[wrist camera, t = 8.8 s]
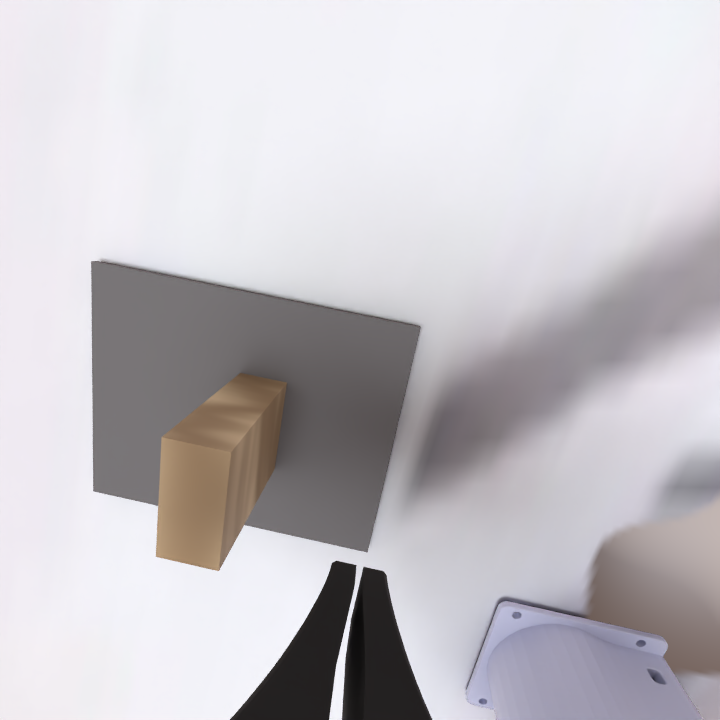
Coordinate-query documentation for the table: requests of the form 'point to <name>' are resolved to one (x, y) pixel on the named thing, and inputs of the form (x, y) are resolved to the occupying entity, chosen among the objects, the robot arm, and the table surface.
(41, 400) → the table surface
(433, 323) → the table surface
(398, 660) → the robot arm
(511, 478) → the table surface
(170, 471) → the block
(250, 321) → the mat
